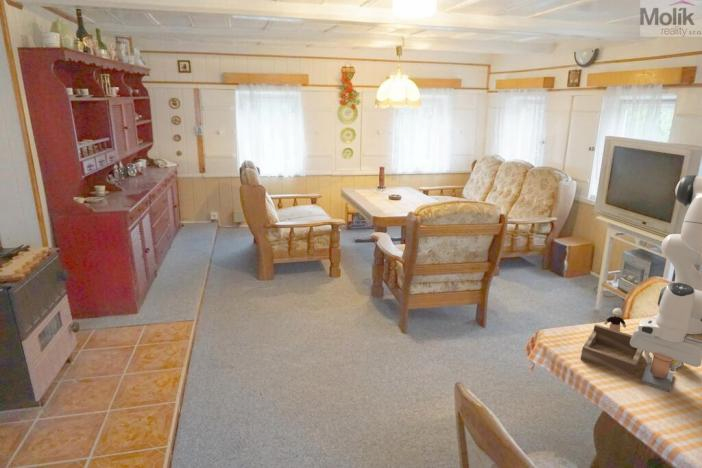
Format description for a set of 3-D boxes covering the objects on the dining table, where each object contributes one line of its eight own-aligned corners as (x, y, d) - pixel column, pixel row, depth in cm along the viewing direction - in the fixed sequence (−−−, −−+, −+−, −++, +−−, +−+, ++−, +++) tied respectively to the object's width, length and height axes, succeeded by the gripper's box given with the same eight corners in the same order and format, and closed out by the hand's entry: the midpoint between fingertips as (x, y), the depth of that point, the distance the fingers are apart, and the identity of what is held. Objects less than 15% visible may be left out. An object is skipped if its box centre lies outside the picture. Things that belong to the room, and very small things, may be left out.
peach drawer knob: (649, 365, 159) (654, 345, 157) (670, 372, 156) (676, 352, 153) (646, 373, 155) (651, 353, 152) (668, 381, 151) (673, 360, 149)
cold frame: (592, 339, 179) (595, 324, 177) (641, 355, 169) (645, 339, 167) (580, 359, 167) (583, 342, 165) (633, 377, 157) (637, 360, 154)
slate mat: (646, 367, 162) (647, 364, 162) (673, 375, 158) (673, 373, 157) (640, 381, 155) (641, 379, 154) (668, 391, 150) (669, 389, 149)
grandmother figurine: (619, 334, 183) (626, 306, 179) (624, 339, 179) (630, 311, 175) (600, 333, 184) (605, 305, 180) (604, 338, 180) (609, 310, 176)
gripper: (709, 337, 146) (698, 374, 150) (636, 317, 158) (628, 351, 163) (708, 346, 141) (697, 383, 146) (633, 324, 154) (625, 359, 158)
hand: (660, 366), depth 154 cm, fingers closed on peach drawer knob, 5 cm apart
